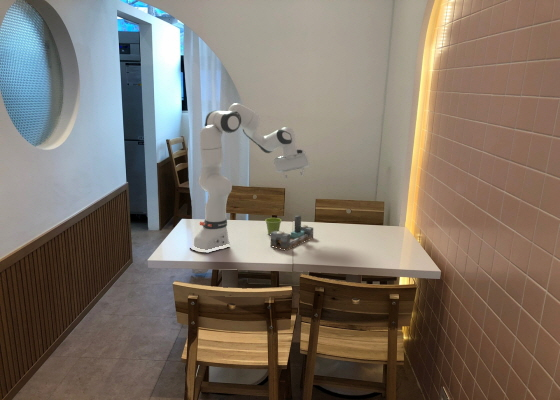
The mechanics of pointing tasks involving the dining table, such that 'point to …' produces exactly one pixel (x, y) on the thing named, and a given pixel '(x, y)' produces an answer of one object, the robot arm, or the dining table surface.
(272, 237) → the grey long blocky piece
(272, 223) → the plant pot
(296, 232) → the carriage
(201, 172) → the robot arm
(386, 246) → the dining table surface
